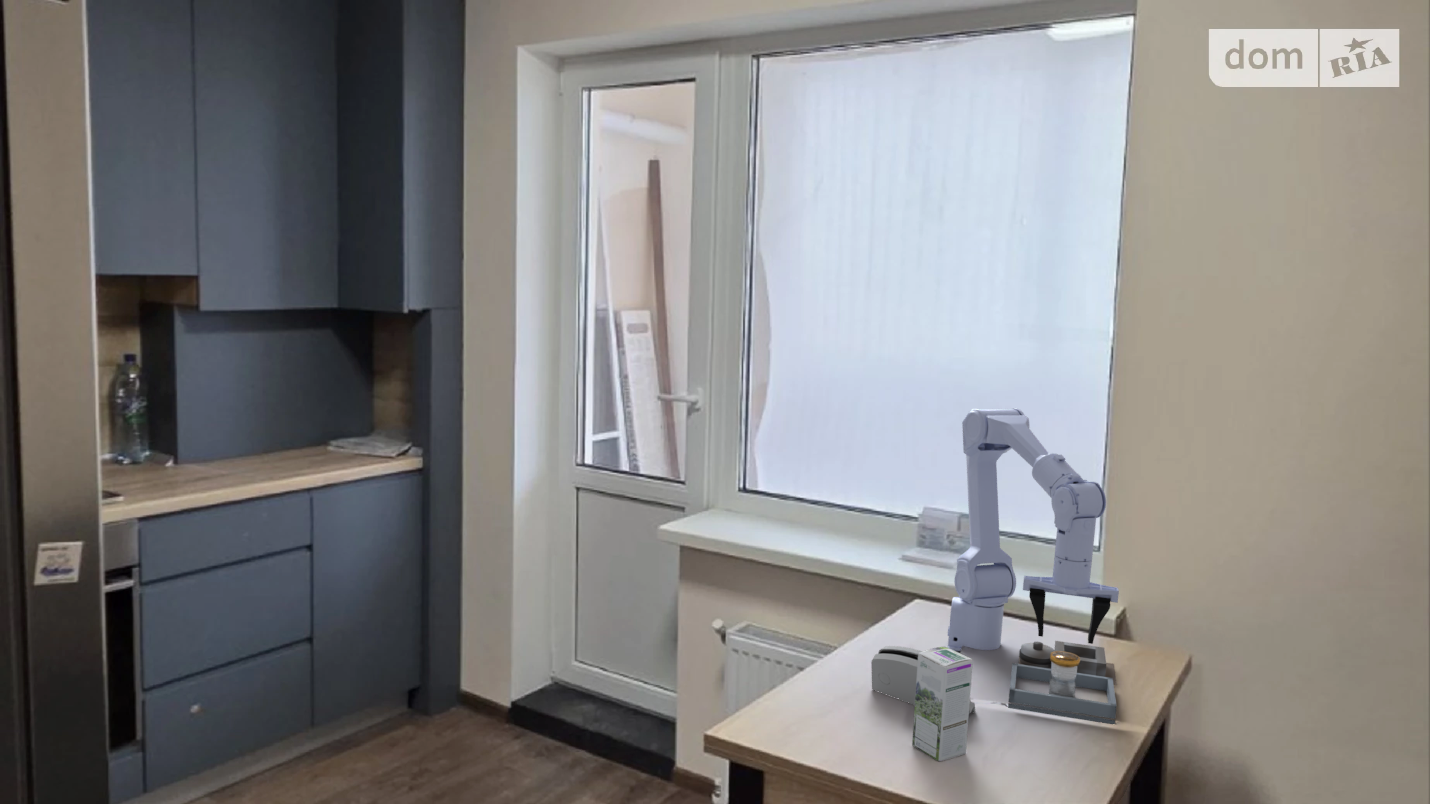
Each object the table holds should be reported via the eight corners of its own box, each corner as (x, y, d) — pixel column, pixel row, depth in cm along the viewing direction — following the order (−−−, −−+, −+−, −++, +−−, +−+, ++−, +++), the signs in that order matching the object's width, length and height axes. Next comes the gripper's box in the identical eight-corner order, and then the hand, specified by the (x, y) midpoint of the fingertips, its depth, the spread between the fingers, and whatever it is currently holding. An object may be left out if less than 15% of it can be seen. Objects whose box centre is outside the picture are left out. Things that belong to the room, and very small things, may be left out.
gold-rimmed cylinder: (1046, 700, 174) (1050, 659, 173) (1046, 689, 179) (1050, 649, 178) (1076, 705, 173) (1080, 663, 172) (1076, 694, 177) (1079, 653, 176)
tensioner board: (1017, 675, 186) (1019, 650, 185) (1019, 655, 195) (1021, 631, 194) (1116, 690, 181) (1118, 664, 180) (1113, 669, 190) (1115, 644, 190)
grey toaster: (977, 712, 170) (972, 660, 166) (963, 731, 167) (957, 678, 163) (887, 681, 181) (879, 631, 177) (871, 697, 178) (864, 648, 174)
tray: (1008, 707, 172) (1009, 689, 172) (1010, 679, 183) (1012, 663, 183) (1114, 724, 168) (1116, 706, 167) (1110, 695, 179) (1112, 678, 178)
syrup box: (967, 754, 155) (975, 657, 153) (937, 763, 152) (945, 664, 150) (939, 738, 160) (946, 644, 158) (909, 746, 157) (916, 651, 155)
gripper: (1025, 557, 171) (1018, 639, 173) (1122, 569, 167) (1114, 653, 169) (1026, 546, 178) (1019, 625, 180) (1120, 557, 174) (1111, 638, 176)
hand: (1065, 638), depth 175 cm, fingers open, 7 cm apart
